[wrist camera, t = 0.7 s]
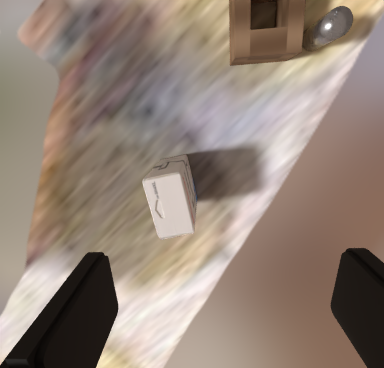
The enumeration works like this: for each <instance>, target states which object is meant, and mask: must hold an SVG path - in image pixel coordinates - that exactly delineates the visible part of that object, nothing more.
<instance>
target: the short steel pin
mask: <svg viewBox="0 0 384 368" xmlns="http://www.w3.org/2000/svg"><path fill="white" fill-rule="evenodd" d="M352 22H353V15H352V12H351V10H350V9H349V8H347V7H345V6H339V7H336V8H335V9H333V10H332V11H330V12H329V13H328V14H326V15H325V16H324V17H323V18H321V19H320V20H319V21H317V22H316V23H315V24H313V25H312V26H311V27H309V28H308V29H307V30H306V31H305V32H304V34H303V39H302V44H303V47H304V48H305V49H306V50H308V51H314V50H316V49H318V48H320V47H322V46H324V45H326V44H328V43H330V42H332V41H334V40H336V39H338V38H339V37H341V36H343V35H345V34H346V33H347V32H348V31H349V29H350V28H351V26H352Z"/></svg>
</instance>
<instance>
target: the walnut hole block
mask: <svg viewBox="0 0 384 368" xmlns="http://www.w3.org/2000/svg"><path fill="white" fill-rule="evenodd" d="M275 1H276V16H275V28H267V29H256V30H250V15H251V4H254V3H264V2H275ZM305 2H306V0H229V17H230V66H232V65H244V64H256V63H268V62H280V61H287V60H289V59H290V58H292V57H294V56H296V55H297V54H299V53H301V51H302V39H303V27H304V14H305Z"/></svg>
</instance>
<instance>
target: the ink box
mask: <svg viewBox="0 0 384 368" xmlns="http://www.w3.org/2000/svg"><path fill="white" fill-rule="evenodd" d="M143 187H144V189H145V193H146V196H147V200H148V203H149V207H150V210H151V214H152V217H153V221H154V224H155V227H156V231H157V235H158V236H159V237H160V239H161V240H162V239H168V238H173V237H178V236H184V235H188V234H192V233H194V229H195V217H196V206H197V194H196V190H195V186H194V182H193V177H192V174H191V169H190V165H189V161H188V157H187V155H186V154H185V155H180V156H175V157H170V158H166V159H161V160H160V161H159V162H158V163H157V164H156V166H155V167H154V168H153V169H152V170H151V171H150V172H149V173H148V175H147V176H146V177H145V178H144V179H143Z"/></svg>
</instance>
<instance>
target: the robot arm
mask: <svg viewBox="0 0 384 368" xmlns="http://www.w3.org/2000/svg"><path fill="white" fill-rule="evenodd" d="M331 310H332V313H333V315H334V316H335V318H336V319H337V321H338V323H339V324H340V326H341V327H342V329H343V330H344V332H345V333H346V335H347V337H348V338H349V340H350V341H351V343H352V344H353V346H354V347H355V349H356V351H357V352H358V354H359V355H360V357H361V358H362V360H363V361H364V363H365V365H366V366H367V368H384V263H383V262H382V261H381V260H379V259H378V258H377V257H376V256H375V255H373V254H372V253H371V252H370V251H369V250H367V249H365V248H349V249H347V250H346V251H345V252H344V253H342V255H341V260H340V264H339V269H338V273H337V278H336V282H335V287H334V291H333V296H332V300H331ZM117 313H118V301H117V296H116V292H115V287H114V282H113V277H112V272H111V268H110V263H109V258H108V256H105V255H104V253H103V252H89V253H87V254H86V255H85V256H84V257H83V259H82V260H81V261H80V263H79V264H78V265H77V266H76V268H75V269H74V270H73V272H72V273H71V274H70V275H69V277H68V278H67V279H66V281H65V282H64V283H63V284H62V286H61V287H60V288H59V290H58V291H57V292H56V294H55V295H54V296H53V297H52V299H51V300H50V301H49V303H48V304H47V305H46V306H45V308H44V309H43V310H42V312H41V313H40V314H39V315H38V317H37V318H36V319H35V321H34V322H33V323H32V325H31V326H30V327H29V328H28V330H27V331H26V332H25V334H24V335H23V336H22V337H21V339H20V340H19V341H18V343H17V344H16V345H15V346H14V348H13V349H12V350H11V352H10V353H9V354H8V355H7V357H6V358H5V360H4V361H3V362H2V364H1V365H0V368H96V366H97V363H98V361H99V358H100V356H101V353H102V351H103V348H104V346H105V343H106V341H107V338H108V336H109V333H110V331H111V328H112V326H113V323H114V321H115V318H116V316H117Z"/></svg>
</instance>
